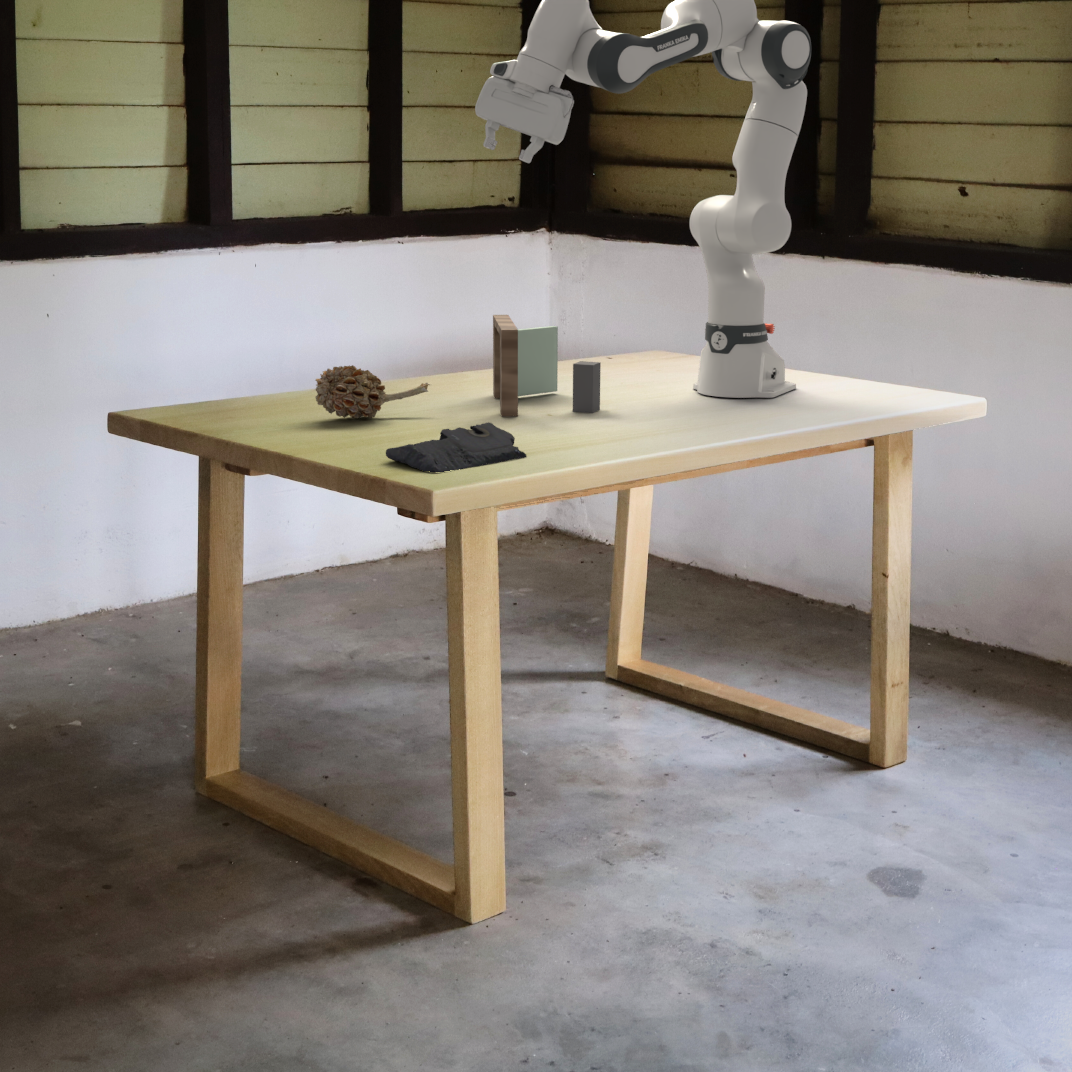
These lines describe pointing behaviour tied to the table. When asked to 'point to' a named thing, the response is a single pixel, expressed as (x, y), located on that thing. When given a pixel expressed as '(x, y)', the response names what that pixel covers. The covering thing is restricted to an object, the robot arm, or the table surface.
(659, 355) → the table surface
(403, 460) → the dark slate chunk
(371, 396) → the dried seed pod
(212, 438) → the table surface
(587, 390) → the gray rectangular block
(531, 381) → the door
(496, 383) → the door frame
